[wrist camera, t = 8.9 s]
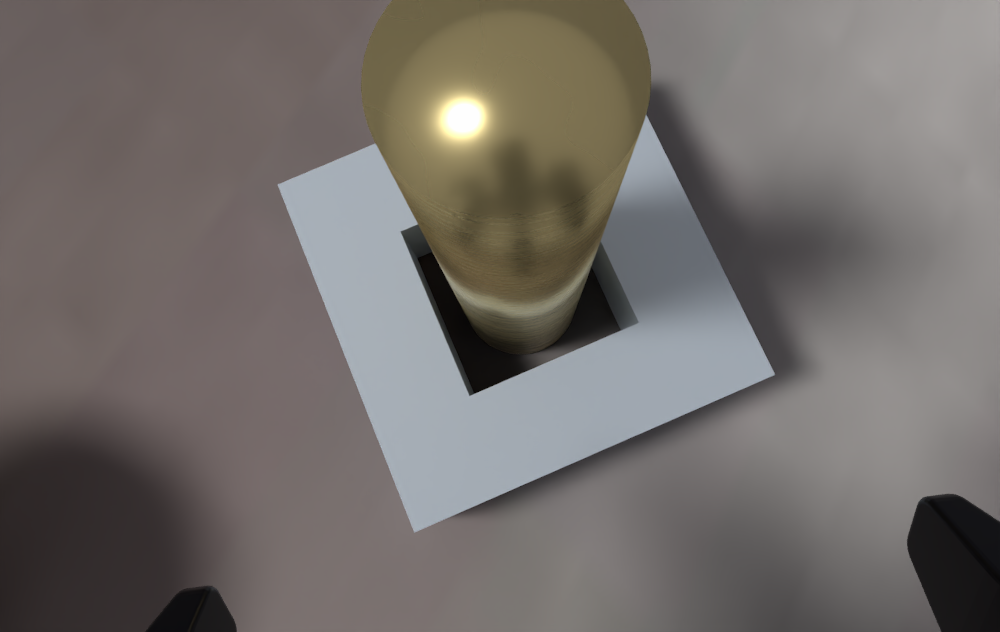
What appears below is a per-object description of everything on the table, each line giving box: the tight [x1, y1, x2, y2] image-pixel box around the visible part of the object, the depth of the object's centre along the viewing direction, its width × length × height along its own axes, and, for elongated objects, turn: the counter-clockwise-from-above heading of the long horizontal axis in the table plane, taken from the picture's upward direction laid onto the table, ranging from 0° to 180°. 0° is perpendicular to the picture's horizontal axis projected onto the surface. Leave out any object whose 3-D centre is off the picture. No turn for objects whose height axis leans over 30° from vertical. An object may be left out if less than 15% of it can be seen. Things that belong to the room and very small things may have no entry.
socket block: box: [278, 115, 775, 532], centre depth 21 cm, size 10×10×3 cm
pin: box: [361, 0, 651, 354], centre depth 16 cm, size 3×3×14 cm
